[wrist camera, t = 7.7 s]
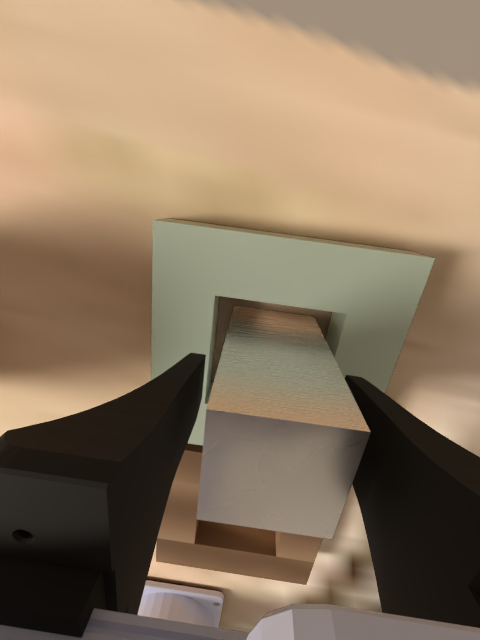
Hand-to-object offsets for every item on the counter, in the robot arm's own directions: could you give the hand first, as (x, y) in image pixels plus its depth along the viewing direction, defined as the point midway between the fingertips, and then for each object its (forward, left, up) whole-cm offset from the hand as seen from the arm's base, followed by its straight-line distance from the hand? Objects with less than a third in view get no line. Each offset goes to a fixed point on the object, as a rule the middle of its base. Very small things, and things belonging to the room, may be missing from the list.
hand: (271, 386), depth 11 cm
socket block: (-11, 0, -4) cm, 12 cm away
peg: (0, 0, -4) cm, 4 cm away
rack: (0, 0, -4) cm, 4 cm away
